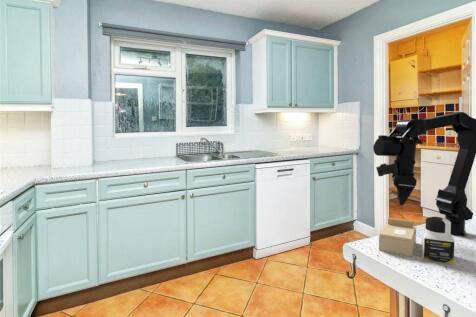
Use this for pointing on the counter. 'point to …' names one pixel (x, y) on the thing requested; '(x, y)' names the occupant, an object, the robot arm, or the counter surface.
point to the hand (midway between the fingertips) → (400, 202)
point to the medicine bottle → (438, 240)
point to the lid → (398, 229)
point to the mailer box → (397, 245)
